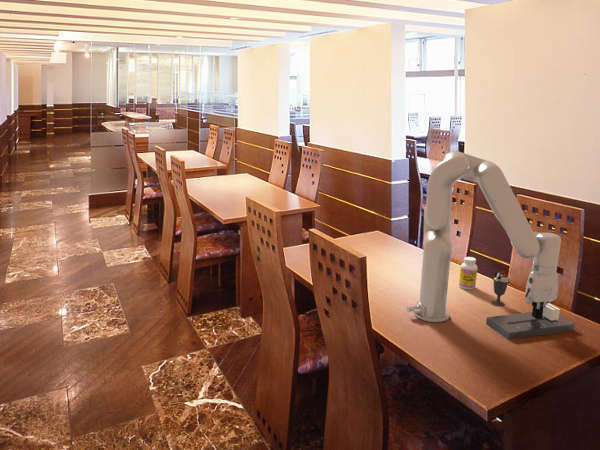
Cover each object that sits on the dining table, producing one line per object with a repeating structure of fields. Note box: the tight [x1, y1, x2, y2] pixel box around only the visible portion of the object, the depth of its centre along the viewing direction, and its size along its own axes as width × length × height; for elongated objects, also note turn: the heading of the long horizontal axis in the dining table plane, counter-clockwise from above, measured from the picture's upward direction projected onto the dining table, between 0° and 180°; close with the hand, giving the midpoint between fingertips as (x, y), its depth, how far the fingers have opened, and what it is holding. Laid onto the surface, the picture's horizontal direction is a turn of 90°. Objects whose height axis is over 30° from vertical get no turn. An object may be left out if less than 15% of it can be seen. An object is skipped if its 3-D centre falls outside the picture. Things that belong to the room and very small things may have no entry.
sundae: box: [491, 268, 511, 307], centre depth 191 cm, size 7×7×15 cm
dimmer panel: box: [485, 311, 576, 340], centre depth 174 cm, size 27×12×3 cm, turn 105°
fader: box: [543, 303, 561, 321], centre depth 175 cm, size 3×5×4 cm, turn 16°
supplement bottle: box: [458, 256, 478, 291], centre depth 208 cm, size 7×7×13 cm
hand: (536, 317), depth 174 cm, fingers closed
